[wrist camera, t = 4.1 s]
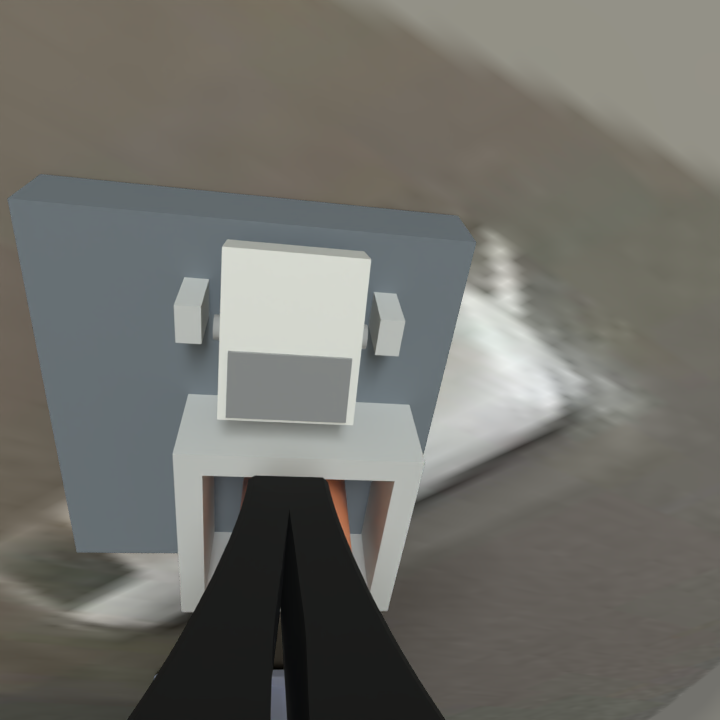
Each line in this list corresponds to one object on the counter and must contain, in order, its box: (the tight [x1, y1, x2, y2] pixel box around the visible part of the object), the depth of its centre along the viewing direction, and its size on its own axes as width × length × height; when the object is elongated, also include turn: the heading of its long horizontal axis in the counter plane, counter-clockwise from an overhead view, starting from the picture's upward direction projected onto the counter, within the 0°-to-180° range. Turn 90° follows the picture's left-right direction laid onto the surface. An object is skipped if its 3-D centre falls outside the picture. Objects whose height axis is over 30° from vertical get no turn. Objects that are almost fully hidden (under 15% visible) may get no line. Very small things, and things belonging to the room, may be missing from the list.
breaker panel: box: [8, 174, 476, 612], centre depth 17 cm, size 12×11×4 cm
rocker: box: [213, 239, 371, 425], centre depth 14 cm, size 4×4×1 cm
